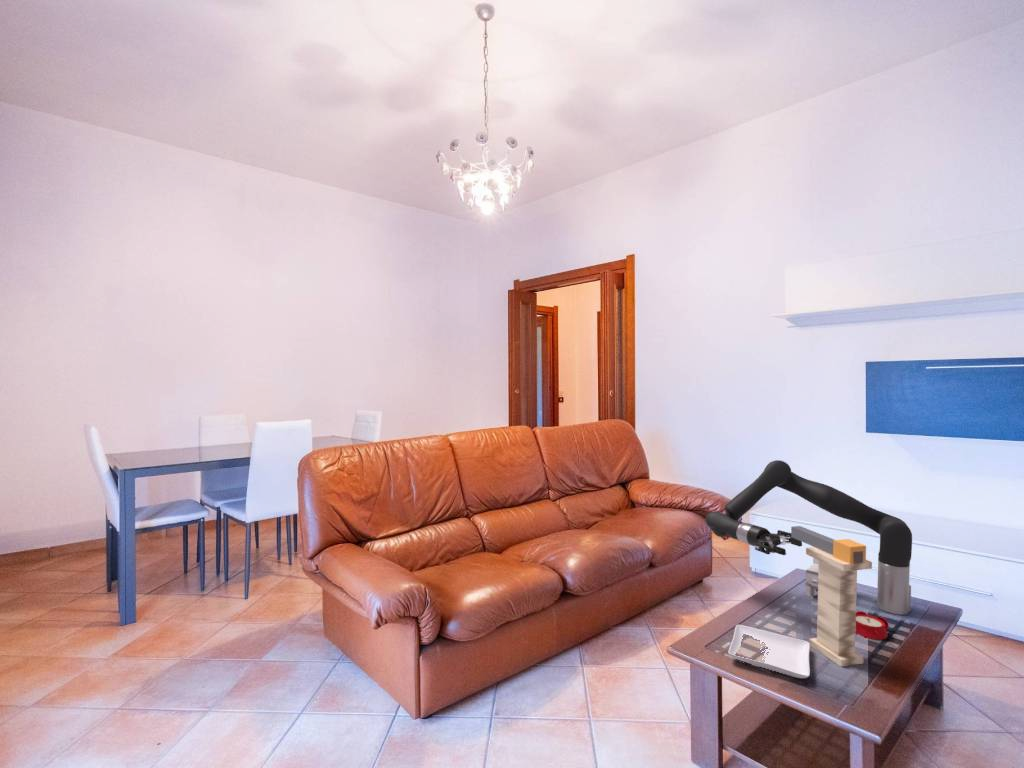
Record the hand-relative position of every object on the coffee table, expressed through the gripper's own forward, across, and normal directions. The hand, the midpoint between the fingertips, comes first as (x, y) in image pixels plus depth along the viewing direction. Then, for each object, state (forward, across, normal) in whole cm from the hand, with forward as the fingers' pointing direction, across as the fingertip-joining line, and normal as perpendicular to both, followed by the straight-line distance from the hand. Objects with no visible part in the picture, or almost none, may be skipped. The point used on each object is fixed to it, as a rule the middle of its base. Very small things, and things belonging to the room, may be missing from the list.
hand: (793, 547), depth 174 cm
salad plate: (+10, -30, +21) cm, 38 cm away
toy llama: (-11, +26, +32) cm, 43 cm away
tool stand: (+17, -11, +25) cm, 32 cm away
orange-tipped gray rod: (+13, -3, -5) cm, 15 cm away
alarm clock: (+13, +14, +31) cm, 36 cm away
